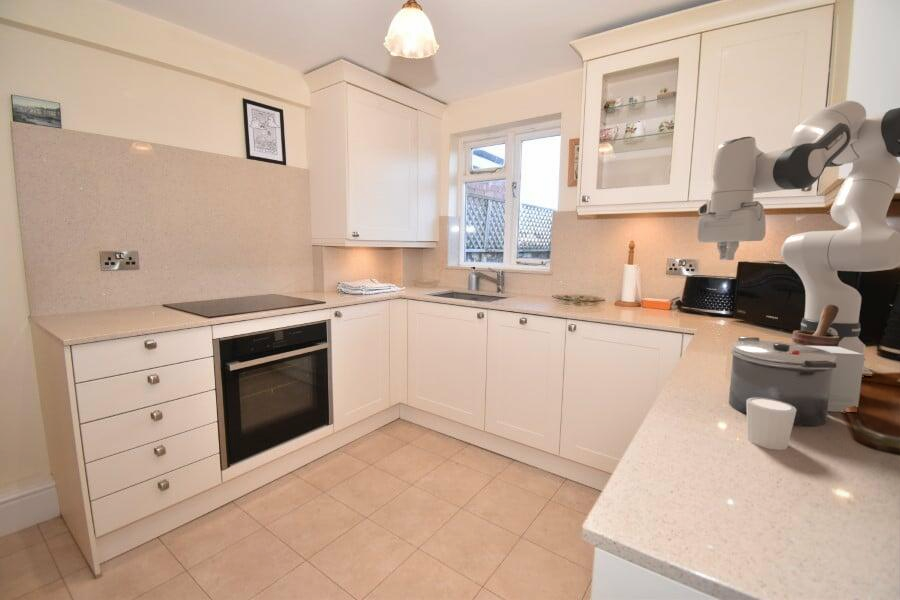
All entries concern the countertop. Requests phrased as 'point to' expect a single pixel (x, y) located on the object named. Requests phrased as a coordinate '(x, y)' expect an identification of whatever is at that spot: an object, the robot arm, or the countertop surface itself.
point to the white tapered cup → (769, 422)
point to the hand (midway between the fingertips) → (726, 260)
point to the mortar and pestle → (819, 331)
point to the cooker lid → (784, 352)
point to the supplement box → (844, 378)
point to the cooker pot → (781, 387)
